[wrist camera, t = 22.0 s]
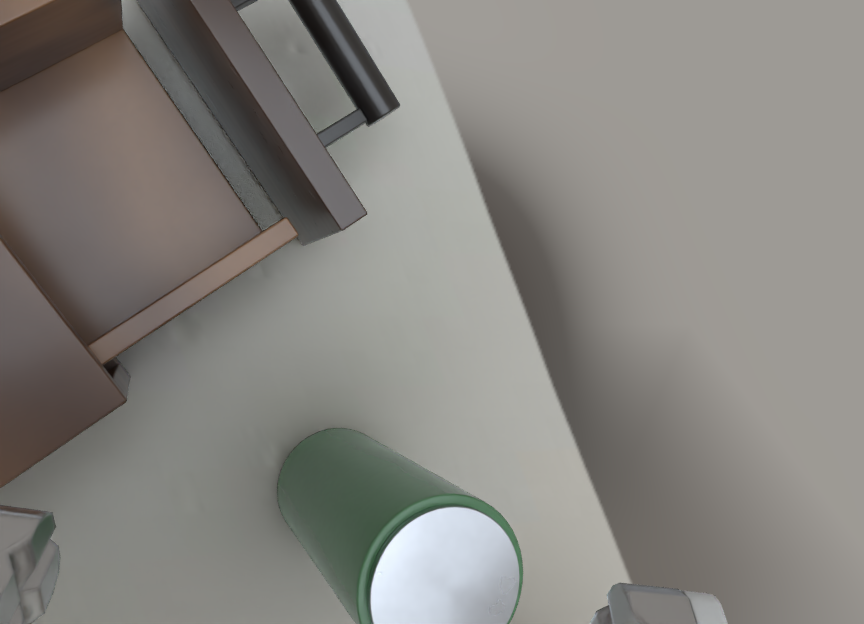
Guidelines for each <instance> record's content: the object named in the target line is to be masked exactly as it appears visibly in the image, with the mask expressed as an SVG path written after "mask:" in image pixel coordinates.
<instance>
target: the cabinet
mask: <svg viewBox="0 0 864 624" xmlns="http://www.w3.org/2000/svg"><path fill="white" fill-rule="evenodd" d="M129 383H130V375H129V374H128V372H127V371H126V370H125V368H124V367H123V366H122V365H121V363H120V362H119V361H118V359H117V358H116V357H115V358H113V359H112V360H110V361H109V362H107V363H106V364H104V365H102V364H101V363H100V361H99V360H98V359H97V357H96V356H95V355H94V354H93V352H92V351H91V350H90V348H89V347H88V346H87V345H86V343H85V342H84V341H83V339H82V338H81V337H80V336H79V334H78V333H77V332H76V330H75V329H74V328H73V327H72V325H71V324H70V323H69V321H68V320H67V319H66V318H65V316H64V315H63V314H62V313H61V311H60V310H59V309H58V307H57V306H56V305H55V304H54V302H53V301H52V300H51V298H50V297H49V296H48V295H47V293H46V292H45V291H44V289H43V288H42V287H41V286H40V284H39V283H38V282H37V280H36V279H35V278H34V277H33V275H32V274H31V273H30V271H29V270H28V269H27V268H26V266H25V265H24V264H23V262H22V261H21V260H20V259H19V257H18V256H17V255H16V253H15V252H14V251H13V250H12V248H11V247H10V246H9V244H8V243H7V242H6V241H5V239H4V238H3V237H2V236H1V234H0V488H2V487H3V486H4V485H6V484H7V483H9V482H10V481H12V480H13V479H15V478H16V477H18V476H19V475H21V474H22V473H23V472H25V471H26V470H28V469H29V468H31V467H32V466H34V465H35V464H37V463H38V462H39V461H41V460H42V459H44V458H45V457H47V456H48V455H50V454H51V453H53V452H54V451H56V450H57V449H58V448H60V447H61V446H63V445H64V444H66V443H67V442H69V441H70V440H72V439H73V438H74V437H76V436H77V435H79V434H80V433H82V432H83V431H85V430H86V429H88V428H89V427H91V426H92V425H93V424H95V423H96V422H98V421H99V420H101V419H102V418H104V417H105V416H107V415H108V414H110V413H111V412H112V411H114V410H115V409H117V408H118V407H120V406H121V405H123V404H124V403H126V401H127V396H128V390H129Z"/></svg>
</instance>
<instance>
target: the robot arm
mask: <svg viewBox="0 0 864 624" xmlns="http://www.w3.org/2000/svg"><path fill="white" fill-rule="evenodd" d="M55 528H56V525H55V520H54V516H53V512H48V511H41V510H33V509H26V508H18V507H11V506H3V505H0V624H31V623H32V622H34V621H35V620H36V619H38V618H39V617H40V616H42V615H43V614H44V613H45V611H46V609H47V606H48V604H49V602H50V600H51V597H52V595H53V592H54V589H55V585H56V582H57V578H58V574H59V569H60V550H59V546H58V545H57V544H56V543H55V542H54V541H52V540H51V539H50V538H51V536H52V534H53V532H54V530H55ZM607 598H608V603H609V605H608V606H606V607H604V608H602V609H600V610H598V611H596V613H595V615H594V617H593V618H592V620H591V622H590V624H728V623H727V620H726V617H725V614H724V611H723V609H722V606H721V604H720V602H719V600H718V599H717V598H716V597H715V595H711V594H709V593H701V592H692V591H682V590H679V589H673V588H664V587H654V586H644V585H636V584H626V583H618V584H615V585H613V586H612V588H611V589H610V591H609V592H608V594H607Z"/></svg>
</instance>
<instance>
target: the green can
mask: <svg viewBox="0 0 864 624" xmlns="http://www.w3.org/2000/svg"><path fill="white" fill-rule="evenodd" d="M277 497H278V503H279V508H280V511H281V513H282V516H283V517H284V519H285V521H286V523H287V524H288V526H289V527H290V529H291V530H292V531H293V533H294V534H295V536H296V537H297V539H298V540H299V542H300V543H301V545H302V546H303V548H304V549H305V550H306V552H307V553H308V555H309V556H310V558H311V559H312V561H313V562H314V564H315V565H316V567H317V568H318V569H319V571H320V572H321V574H322V575H323V577H324V578H325V580H326V581H327V583H328V584H329V586H330V587H331V588H332V590H333V591H334V593H335V594H336V596H337V597H338V599H339V600H340V602H341V603H342V605H343V606H344V607H345V609H346V610H347V612H348V613H349V615H350V616H351V618H352V619H353V621H354V622H355V624H509V623H510V621H511V619H512V617H513V615H514V613H515V610H516V608H517V605H518V602H519V598H520V594H521V588H522V580H523V565H522V557H521V551H520V548H519V545H518V541H517V539H516V536H515V534H514V532H513V530H512V528H511V527H510V525H509V524H508V522H507V521H506V520H505V519H504V517H503V516H502V515H501V514H500V513H499V512H498V511H497V510H495V509H494V508H493V507H492V506H490V505H489V504H487V503H485V502H484V501H482V500H480V499H479V498H477V497H475V496H473V495H471V494H470V493H468V492H466V491H464V490H463V489H461V488H459V487H457V486H455V485H454V484H452V483H450V482H448V481H446V480H445V479H443V478H441V477H439V476H438V475H436V474H434V473H432V472H430V471H429V470H427V469H425V468H423V467H422V466H420V465H418V464H416V463H414V462H413V461H411V460H409V459H407V458H405V457H404V456H402V455H400V454H398V453H397V452H395V451H393V450H391V449H389V448H388V447H386V446H384V445H382V444H380V443H379V442H377V441H375V440H373V439H372V438H370V437H368V436H366V435H364V434H362V433H360V432H358V431H355V430H351V429H345V428H333V429H327V430H323V431H320V432H317V433H315V434H313V435H311V436H309V437H308V438H306V439H305V440H303V441H302V442H301V443H299V444H298V445H297V446H296V447H295V448H294V449H293V451H292V452H291V453H290V454H289V456H288V457H287V459H286V461H285V463H284V465H283V467H282V469H281V472H280V475H279V480H278V486H277Z"/></svg>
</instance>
